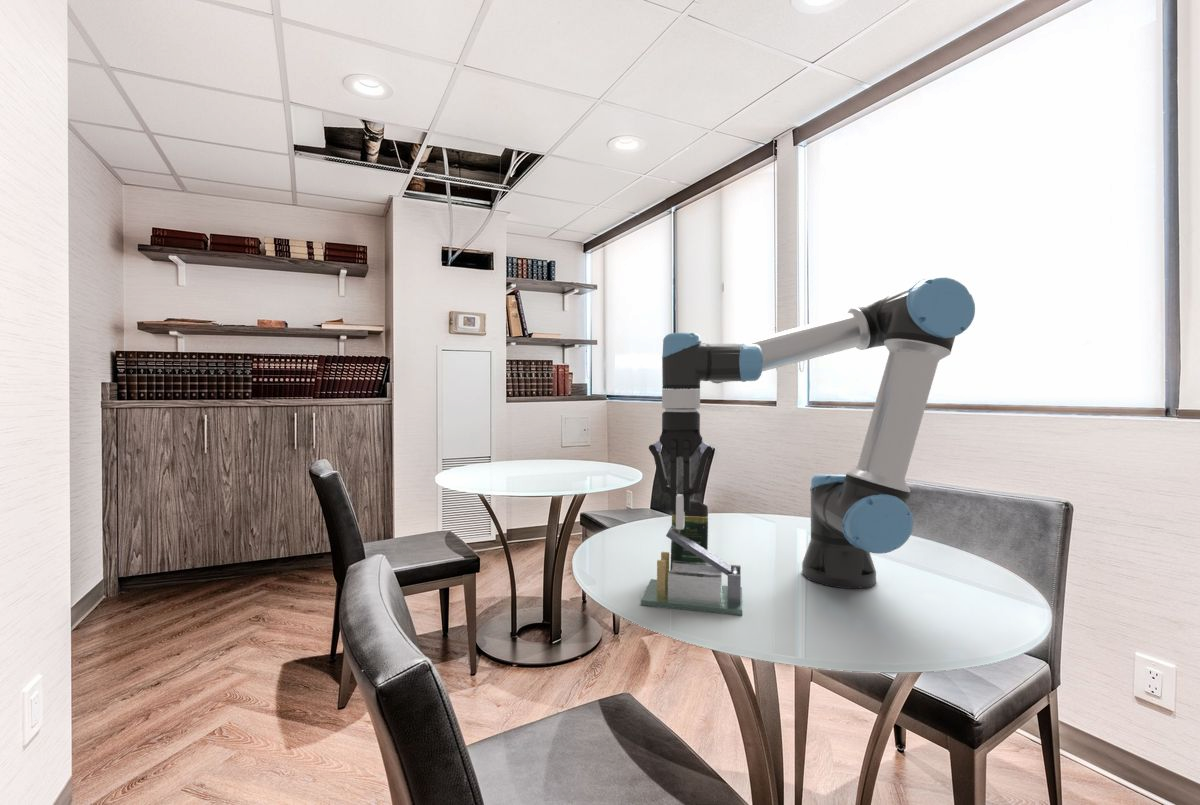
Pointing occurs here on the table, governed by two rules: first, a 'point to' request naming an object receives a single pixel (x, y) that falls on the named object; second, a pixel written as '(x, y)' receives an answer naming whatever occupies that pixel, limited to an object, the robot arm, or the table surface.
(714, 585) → the heatsink base
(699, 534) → the coffee jar
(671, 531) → the grey rectangular bar
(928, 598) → the table surface
